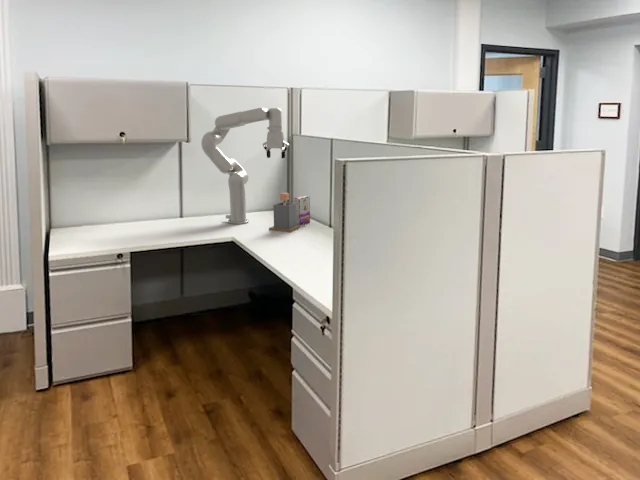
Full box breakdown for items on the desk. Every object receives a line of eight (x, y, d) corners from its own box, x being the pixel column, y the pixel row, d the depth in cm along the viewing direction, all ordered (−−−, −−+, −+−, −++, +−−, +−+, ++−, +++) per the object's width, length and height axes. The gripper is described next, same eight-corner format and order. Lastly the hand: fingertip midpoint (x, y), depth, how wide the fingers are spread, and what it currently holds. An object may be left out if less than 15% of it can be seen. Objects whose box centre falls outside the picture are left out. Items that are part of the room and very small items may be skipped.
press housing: (269, 230, 350) (268, 205, 347) (279, 226, 363) (279, 201, 359) (290, 232, 345) (290, 206, 341) (300, 227, 357) (300, 202, 354)
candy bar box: (303, 221, 377) (303, 195, 373) (310, 222, 374) (310, 196, 371) (293, 224, 368) (292, 197, 364) (299, 225, 365) (299, 198, 361)
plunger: (276, 226, 351) (275, 193, 347) (282, 224, 358) (281, 191, 354) (288, 227, 349) (287, 194, 344) (293, 225, 355) (292, 192, 351)
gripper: (259, 129, 358) (260, 158, 362) (285, 129, 351) (286, 158, 355) (265, 128, 365) (266, 157, 368) (291, 129, 358) (291, 157, 362)
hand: (275, 157), depth 362 cm, fingers open, 9 cm apart
